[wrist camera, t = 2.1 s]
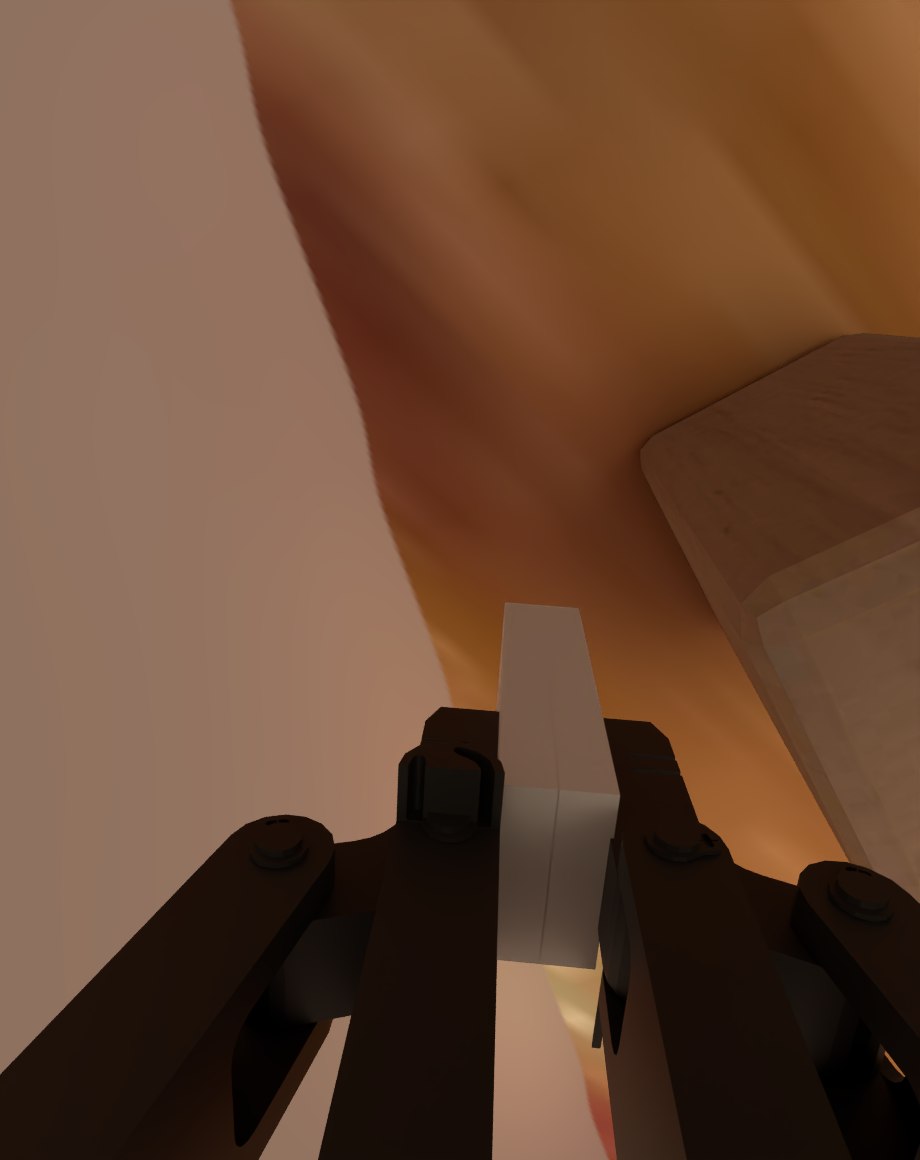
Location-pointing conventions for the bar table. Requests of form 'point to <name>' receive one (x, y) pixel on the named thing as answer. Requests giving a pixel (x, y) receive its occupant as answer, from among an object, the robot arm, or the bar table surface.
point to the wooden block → (819, 572)
